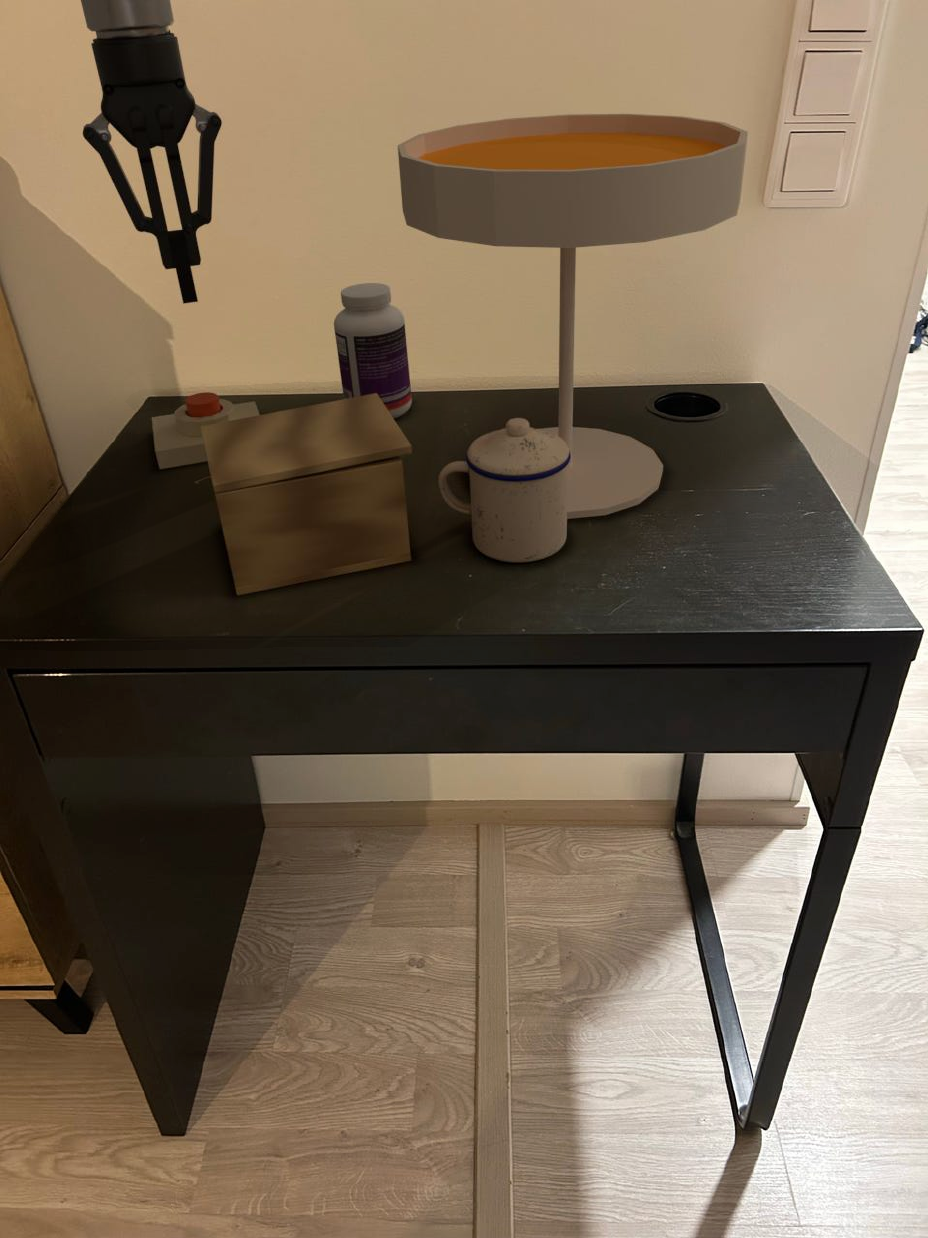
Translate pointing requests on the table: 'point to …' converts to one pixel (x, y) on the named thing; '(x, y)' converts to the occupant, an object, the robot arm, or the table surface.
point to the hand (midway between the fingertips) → (189, 298)
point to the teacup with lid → (514, 492)
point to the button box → (191, 433)
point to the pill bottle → (373, 347)
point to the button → (203, 404)
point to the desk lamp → (577, 228)
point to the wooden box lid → (301, 442)
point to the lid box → (315, 525)
